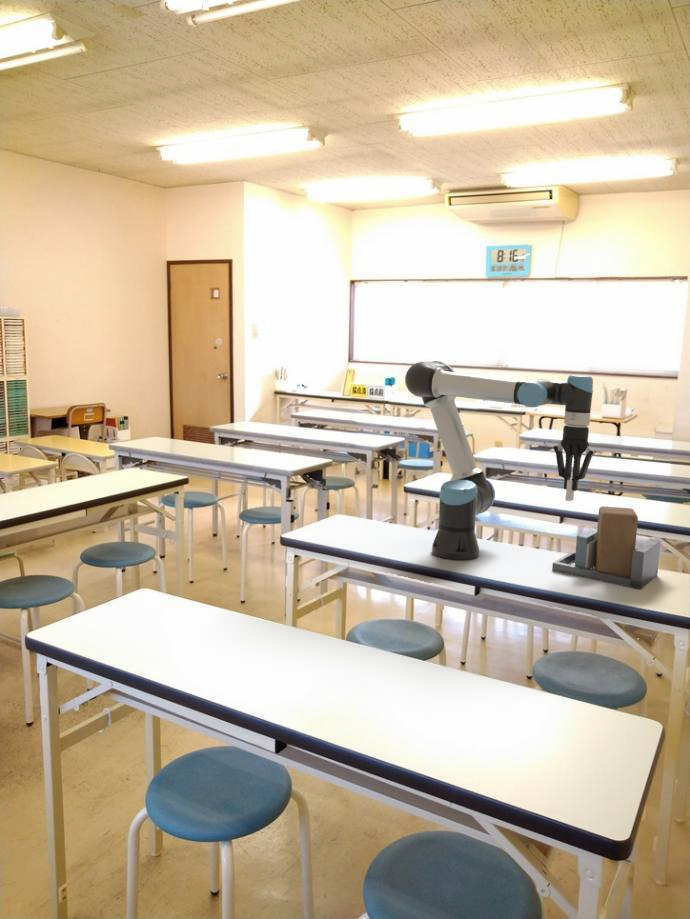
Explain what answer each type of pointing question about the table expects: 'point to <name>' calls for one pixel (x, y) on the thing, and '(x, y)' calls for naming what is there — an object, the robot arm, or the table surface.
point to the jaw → (586, 549)
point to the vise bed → (641, 574)
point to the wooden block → (615, 540)
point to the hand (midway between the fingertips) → (569, 500)
